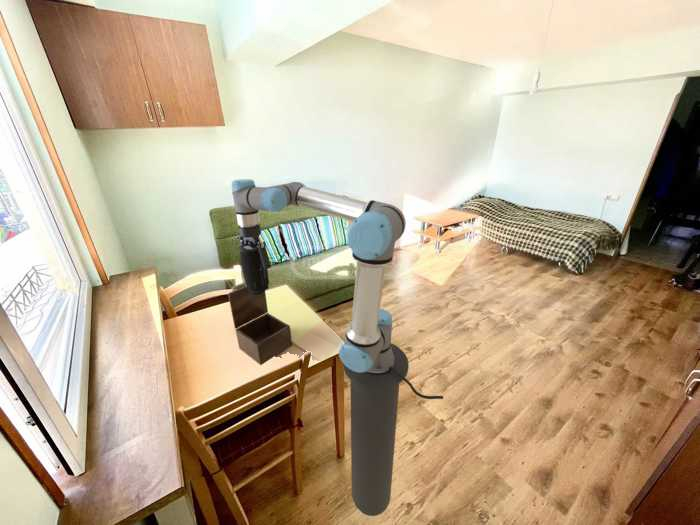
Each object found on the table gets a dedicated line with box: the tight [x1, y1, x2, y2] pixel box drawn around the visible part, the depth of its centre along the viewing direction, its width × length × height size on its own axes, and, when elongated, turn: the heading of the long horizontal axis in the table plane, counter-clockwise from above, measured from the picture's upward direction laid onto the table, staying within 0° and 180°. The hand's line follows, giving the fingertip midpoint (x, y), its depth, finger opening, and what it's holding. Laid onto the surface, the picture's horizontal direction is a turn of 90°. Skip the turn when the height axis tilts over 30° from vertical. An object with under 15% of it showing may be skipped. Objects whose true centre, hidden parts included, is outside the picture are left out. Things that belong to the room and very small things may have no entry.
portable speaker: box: [238, 244, 270, 295], centre depth 105 cm, size 9×9×20 cm
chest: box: [234, 312, 293, 366], centre depth 119 cm, size 16×16×10 cm
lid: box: [227, 281, 269, 330], centre depth 120 cm, size 17×16×8 cm
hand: (257, 280), depth 108 cm, fingers closed on portable speaker, 9 cm apart
